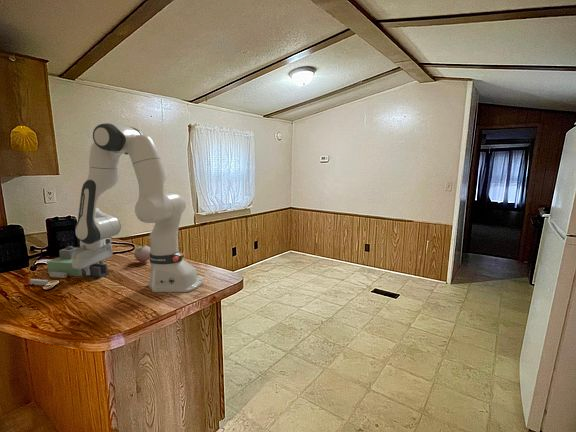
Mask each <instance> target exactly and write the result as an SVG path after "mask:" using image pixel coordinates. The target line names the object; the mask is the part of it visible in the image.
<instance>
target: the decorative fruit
mask: <svg viewBox="0 0 576 432" xmlns="http://www.w3.org/2000/svg"><path fill="white" fill-rule="evenodd" d="M150 253H151V251H150V246H148V245H147V244H143V243H142V244H141V245H140V246H138V247H137V248H136V249H135V250H134V253H133V257H134V258H135V259H136V261H138V262H139V263H140V262H141V263H145V262H147V261H148V260H150Z"/></svg>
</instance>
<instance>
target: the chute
mask: <svg viewBox="0 0 576 432" xmlns="http://www.w3.org/2000/svg"><path fill="white" fill-rule="evenodd" d="M89 270H90V271H92V274H91V275H86V271H85V270H84V269H81V271H82V275H81V276H82V278H92V279H101V278H103V277H107V275H109V274H108V273H109V272H108V264H107V263H104V264H99V263H98V264H96V263H95V264H92V265H90V268H89Z"/></svg>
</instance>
